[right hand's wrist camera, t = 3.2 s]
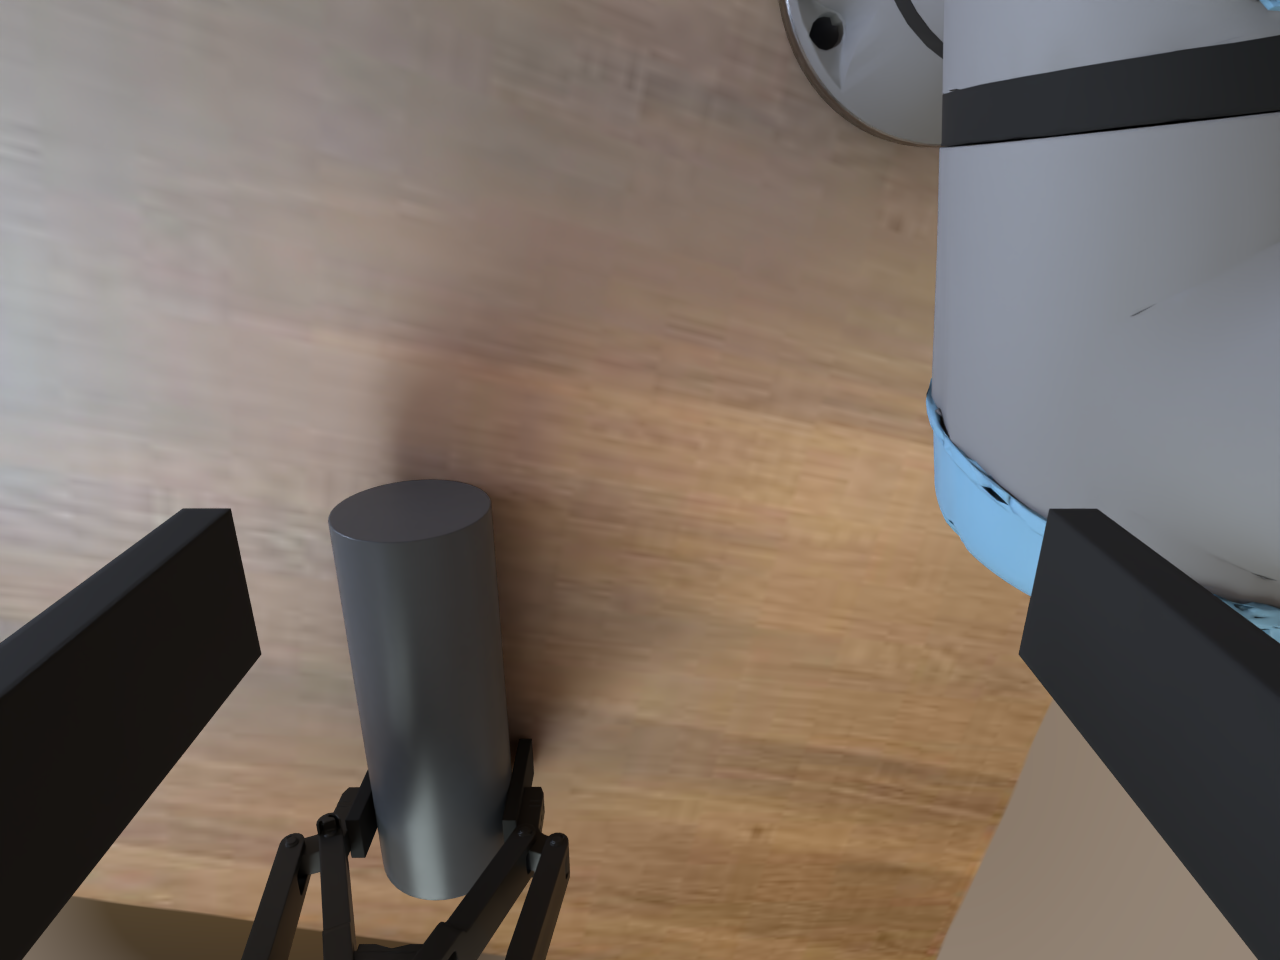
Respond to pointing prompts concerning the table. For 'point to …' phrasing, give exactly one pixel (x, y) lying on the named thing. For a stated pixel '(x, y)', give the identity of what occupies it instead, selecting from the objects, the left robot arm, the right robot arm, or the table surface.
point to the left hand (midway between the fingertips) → (458, 756)
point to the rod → (427, 676)
